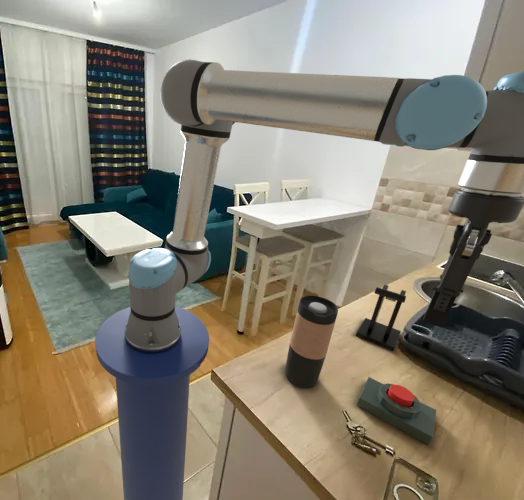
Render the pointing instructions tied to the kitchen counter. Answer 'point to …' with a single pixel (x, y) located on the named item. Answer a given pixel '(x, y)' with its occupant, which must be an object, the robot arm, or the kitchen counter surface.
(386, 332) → the bracket
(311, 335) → the travel mug
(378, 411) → the button box
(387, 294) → the lever
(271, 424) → the kitchen counter surface
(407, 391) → the button
